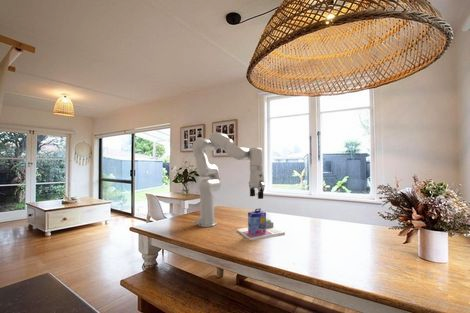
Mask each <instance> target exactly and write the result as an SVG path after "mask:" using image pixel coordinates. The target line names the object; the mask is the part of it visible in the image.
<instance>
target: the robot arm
mask: <svg viewBox="0 0 470 313" xmlns="http://www.w3.org/2000/svg"><path fill="white" fill-rule="evenodd" d="M218 149H221V150H223V151H224V152H225V154H227V155H228V156H229V157H231V158H233V159H235V160H237V161H249V181H248V186H249V197H255V196H256V189H257V191H258V192H257V199H258V200H261V199H262V200H263V199H264V192H265V187H266V185H265V177H264V175H265V174H264V171H263V149H262V148H261V147H251V148H250V147H240V146H237V145H236V144H234V141H233V139H232V138H229V136H228V135H227V134H226V133H224V132H223V133H222V132H217V131H216V132H212V133H211V134H210V135H209V137H208V138H203V137H200V138H196V139H195V140H194V142H193V144H192V152H193V153H192V154H193V156H194V158H195V159H194V160H195V164H196V169H197V173H198V176H199V177H201V178H204V179H201V180H200V181H199V183H198V191H199V198H200V199H199V202H200V204H199V206H200V211H199V213H200V217H199V218H197V219H193V224H197V225H198V226H199V227H203V228H204V227H205V228H209V227H210V228H211V227H214V226H216V225H217V221H215V197H214V194H213V192H217V191H220V189H221V187H222V180H221V176H220V171H219V168H218V165H216V164H214V163H210V162H209V159H208V155H207V154H206V153H205V151H211V152H213V151H217V150H218Z"/></svg>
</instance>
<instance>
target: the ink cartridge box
mask: <svg viewBox="0 0 470 313" xmlns="http://www.w3.org/2000/svg"><path fill="white" fill-rule="evenodd" d="M266 219H267V212H265V211H263V210H262V209H261V208H255V210H253V211H248V212H247V228H248V233H250V234H251V235H256V234H262V233H266Z"/></svg>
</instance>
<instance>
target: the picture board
mask: <svg viewBox="0 0 470 313" xmlns="http://www.w3.org/2000/svg"><path fill="white" fill-rule="evenodd" d="M236 232H238V233H239V234H241V235H242V237H243V236H244V237H245V238H246V239H247V240H250V241H254V240H255V241H256V240H260V239H266V238H265V237H267V238H272V237H277V236H276V235H278V236H282V235H281V234H283V235H286V232H285V231H283V230H281V229H279V228H277V227H274V222H273V221H271V223H266V233H262V234H256V235H251V234H250V233H248V227H242V228H241V227H240V228H237V229H236ZM271 236H272V237H271Z"/></svg>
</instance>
